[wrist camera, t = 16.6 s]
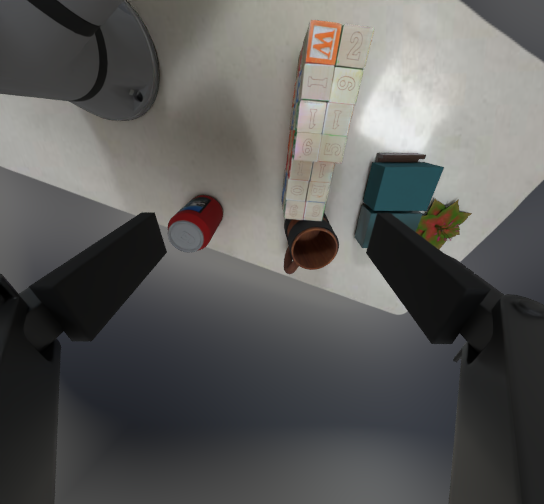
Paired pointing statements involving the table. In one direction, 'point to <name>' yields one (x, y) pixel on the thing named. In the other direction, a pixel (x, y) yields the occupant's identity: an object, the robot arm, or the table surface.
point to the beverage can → (195, 224)
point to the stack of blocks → (322, 113)
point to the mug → (309, 244)
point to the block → (401, 186)
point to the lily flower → (441, 223)
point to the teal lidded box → (369, 215)
